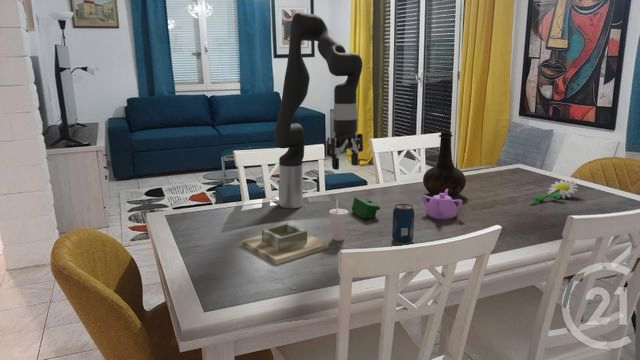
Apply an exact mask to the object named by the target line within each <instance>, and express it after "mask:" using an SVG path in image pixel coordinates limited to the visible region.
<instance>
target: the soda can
mask: <svg viewBox="0 0 640 360" xmlns="http://www.w3.org/2000/svg"><path fill="white" fill-rule="evenodd" d="M414 226H415V210H414V206H413V205H412V204H408V203H398V204H395V206H394V209H393V211H392V227H391V228H392V230H391V232H392V233H391V237H392V239H393V241H394V242H395V243H396V244H401V245H407V244H411V242H412V241H413V239H414V233H415V232H414V230H415V229H414Z"/></svg>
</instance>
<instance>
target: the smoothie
mask: <svg viewBox="0 0 640 360" xmlns="http://www.w3.org/2000/svg"><path fill="white" fill-rule="evenodd" d="M335 203H336V204H335V205H336V208H332V209H330V210H329V211H328V212H329V216H330V224H331V231H332V240H334V241H337V242H339V241H340V242H342V241H344V240H345V235H346V228H347V222H348V221H347V220H348V215H349V210H347V209H345V208H339V198H336V201H335Z"/></svg>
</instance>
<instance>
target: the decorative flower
mask: <svg viewBox="0 0 640 360" xmlns="http://www.w3.org/2000/svg"><path fill="white" fill-rule="evenodd" d="M577 184H578V182H574V180H570V181H568V180H567V179H566V180H564V181H563V179H561V180H560V181H559V182H558V181H555V182H554V184H550V186H551V187H548V188H547V189H548V190H547V192H546V194H547V193H548V194H547V195H545V196H544V195H542V194H541V195H540V194H535V195H534V198H535V199H537V200H535V201H534V202H531V203H529V204H528V205H532V206H533V204H534V205H536V204H538V203H539V202H542V201H543V200H545V199H546V198H547V199H548V197H549V198H552V197H555V198H556V199H557V198H560V199H561V198H562V199H563V200H564V199H565V198H566V197H567V198H571V194H573V195H574V194H575V192H578V190H577V189H576V188H579V186H578V185H577Z"/></svg>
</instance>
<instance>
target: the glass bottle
mask: <svg viewBox="0 0 640 360" xmlns="http://www.w3.org/2000/svg"><path fill="white" fill-rule="evenodd" d="M452 133H453V132H452V131H449V130H442V131H440V134H439V135H438V137H439V138H440V141H439V142H440V143H439V151H438V158H437V162H436V164H435V166H433V167H429V169H427V170H426V171H425V173H424V174H423V178H422V184H423V185H424V186H423V187H424V188H425V190H426V191H427V192H428V193H429V194H431V195H432V196H435V195H439V193H444V192H445V190H446V189H448V196H450V197H451V198H452V197H456V196H458V195H460V194H461V193H462V192H463V190H464V189H465V186H466V183H467V179H466V175H465V174H464V172H463V171H461V170H460V169H459V168H457V167H455V164H454V162H453V156H452V155H453V154H452V137H453V136H454V135H453V134H452Z"/></svg>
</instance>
